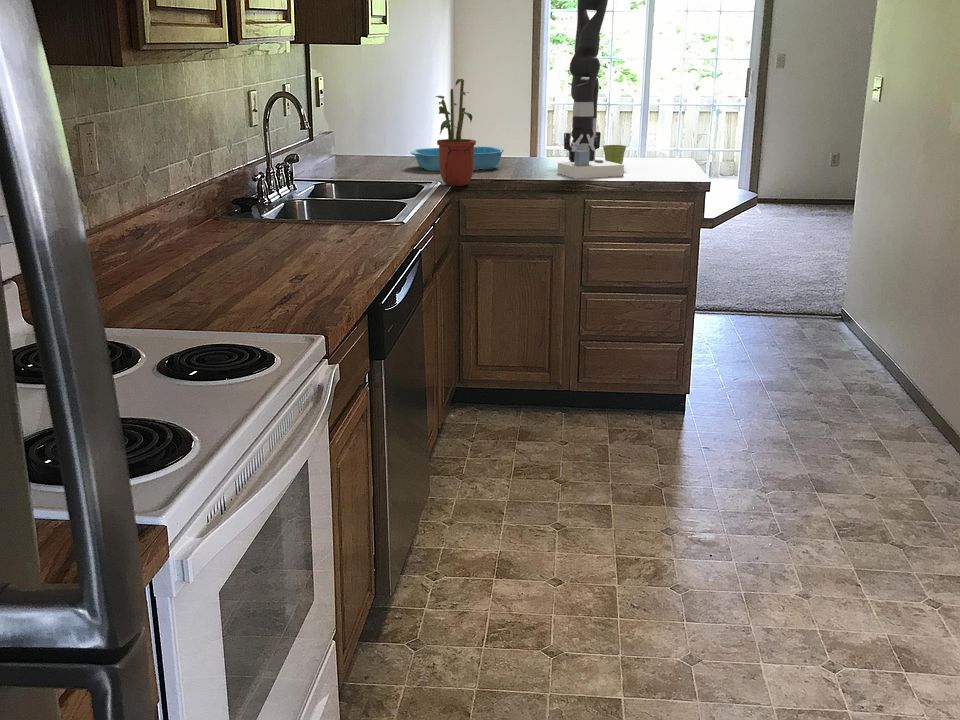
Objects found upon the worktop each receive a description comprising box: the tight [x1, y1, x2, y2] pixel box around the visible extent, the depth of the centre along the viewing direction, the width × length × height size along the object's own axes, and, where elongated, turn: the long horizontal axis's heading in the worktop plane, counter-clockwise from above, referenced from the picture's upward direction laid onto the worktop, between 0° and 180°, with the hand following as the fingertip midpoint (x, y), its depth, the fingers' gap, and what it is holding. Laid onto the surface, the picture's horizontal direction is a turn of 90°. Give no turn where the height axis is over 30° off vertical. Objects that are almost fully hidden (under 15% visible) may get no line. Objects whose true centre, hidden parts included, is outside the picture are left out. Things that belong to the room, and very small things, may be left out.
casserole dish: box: [410, 146, 505, 172], centre depth 374 cm, size 37×22×7 cm, turn 108°
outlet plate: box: [557, 159, 625, 179], centre depth 356 cm, size 14×20×5 cm
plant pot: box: [601, 144, 628, 165], centre depth 373 cm, size 9×9×9 cm
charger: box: [574, 150, 590, 166], centre depth 352 cm, size 4×4×9 cm
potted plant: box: [434, 78, 477, 187], centre depth 325 cm, size 17×16×35 cm
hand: (581, 161), depth 352 cm, fingers open, 7 cm apart
